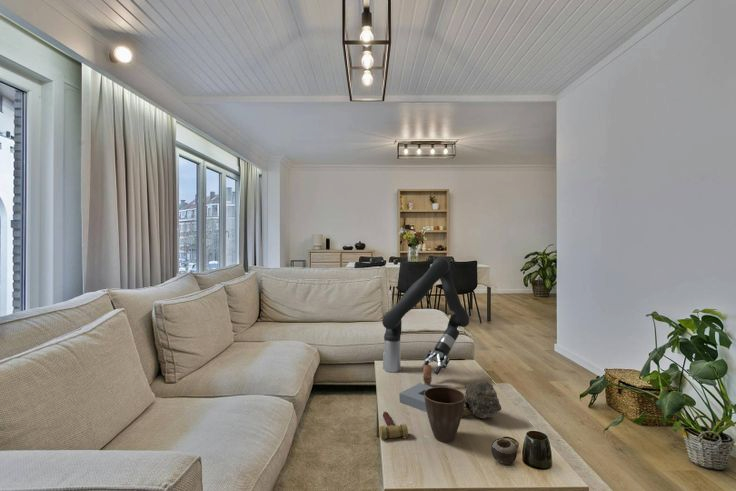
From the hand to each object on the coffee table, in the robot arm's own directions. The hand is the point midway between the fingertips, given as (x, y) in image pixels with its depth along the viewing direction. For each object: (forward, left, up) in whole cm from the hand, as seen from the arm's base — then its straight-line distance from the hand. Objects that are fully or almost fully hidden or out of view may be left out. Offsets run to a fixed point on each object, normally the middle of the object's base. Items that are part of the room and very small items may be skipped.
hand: (429, 371), depth 185 cm
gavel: (+11, -45, -8) cm, 47 cm away
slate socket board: (+10, -17, -7) cm, 21 cm away
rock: (+32, -14, -8) cm, 36 cm away
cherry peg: (0, -1, -7) cm, 7 cm away
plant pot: (+32, -37, -7) cm, 50 cm away
